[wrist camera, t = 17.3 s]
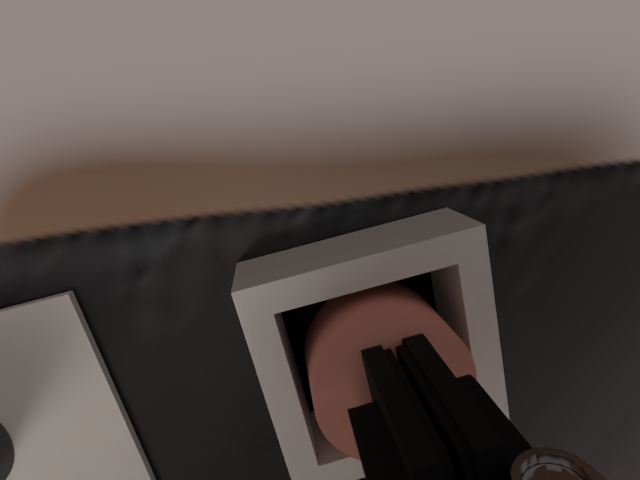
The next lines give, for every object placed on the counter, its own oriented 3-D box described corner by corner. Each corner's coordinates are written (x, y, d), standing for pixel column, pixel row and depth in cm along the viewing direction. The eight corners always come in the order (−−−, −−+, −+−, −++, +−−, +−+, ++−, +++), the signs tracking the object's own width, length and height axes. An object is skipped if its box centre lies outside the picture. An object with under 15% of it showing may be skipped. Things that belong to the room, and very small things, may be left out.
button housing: (473, 386, 16) (511, 432, 13) (291, 439, 15) (296, 497, 13) (446, 207, 14) (485, 224, 11) (236, 263, 13) (230, 293, 11)
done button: (448, 384, 14) (485, 437, 12) (322, 421, 14) (334, 483, 11) (428, 265, 13) (465, 297, 11) (289, 303, 13) (294, 344, 10)
